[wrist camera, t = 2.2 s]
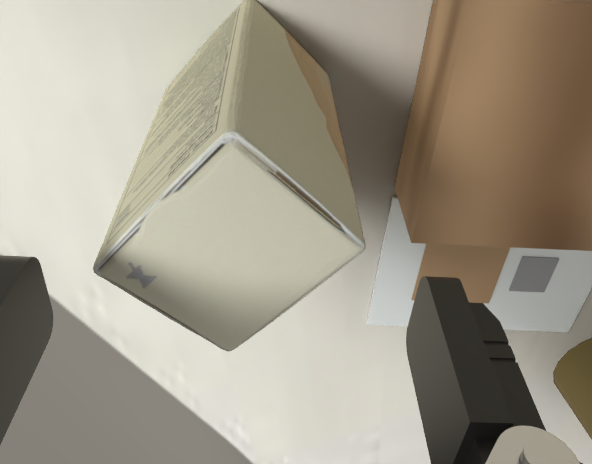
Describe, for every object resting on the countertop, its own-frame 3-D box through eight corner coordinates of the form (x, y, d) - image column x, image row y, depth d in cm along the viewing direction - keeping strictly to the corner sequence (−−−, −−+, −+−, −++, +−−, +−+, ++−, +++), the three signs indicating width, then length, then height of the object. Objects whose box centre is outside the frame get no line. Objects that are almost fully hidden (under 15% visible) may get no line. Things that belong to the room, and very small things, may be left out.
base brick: (394, 187, 25) (410, 242, 21) (440, -35, 19) (472, -5, 16) (592, 196, 25) (637, 252, 22) (691, -17, 20) (770, 16, 16)
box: (244, 156, 24) (220, 364, 15) (161, 88, 22) (77, 278, 13) (336, 70, 21) (374, 252, 12) (253, -14, 19) (228, 130, 11)
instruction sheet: (366, 322, 30) (367, 326, 29) (392, 196, 25) (393, 200, 25) (567, 329, 30) (569, 333, 30) (630, 208, 25) (633, 211, 25)
